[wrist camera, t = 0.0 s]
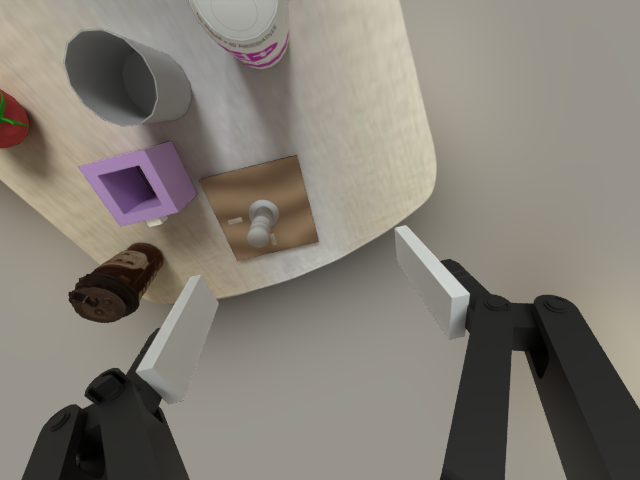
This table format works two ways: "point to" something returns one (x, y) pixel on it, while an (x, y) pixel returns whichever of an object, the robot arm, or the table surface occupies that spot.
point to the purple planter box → (141, 184)
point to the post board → (262, 187)
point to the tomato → (12, 121)
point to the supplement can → (247, 28)
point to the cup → (125, 79)
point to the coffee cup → (117, 284)
